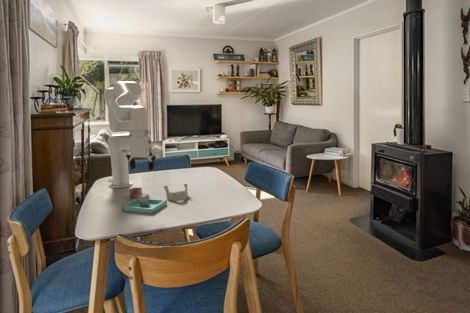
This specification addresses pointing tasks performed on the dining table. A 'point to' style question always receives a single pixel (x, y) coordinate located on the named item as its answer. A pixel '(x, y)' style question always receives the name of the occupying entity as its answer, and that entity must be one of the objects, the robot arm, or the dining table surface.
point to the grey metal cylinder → (144, 201)
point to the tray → (135, 208)
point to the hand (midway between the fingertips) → (142, 169)
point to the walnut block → (135, 193)
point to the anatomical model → (177, 194)
